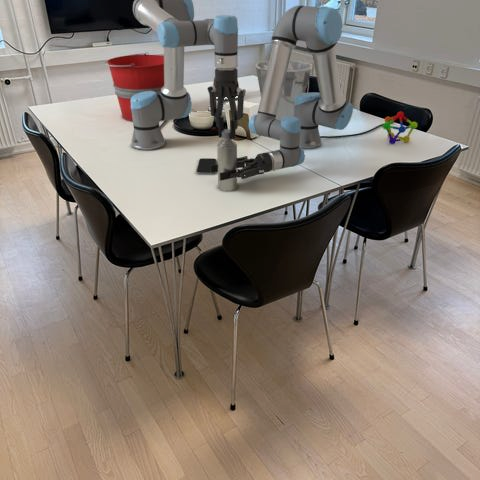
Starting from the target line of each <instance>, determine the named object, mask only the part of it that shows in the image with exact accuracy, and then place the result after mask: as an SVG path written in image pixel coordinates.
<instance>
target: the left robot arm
mask: <svg viewBox="0 0 480 480" xmlns="http://www.w3.org/2000/svg"><path fill="white" fill-rule="evenodd" d="M132 3H133V4H132V13H133V16H134V18H135V20H137V22H139V23H140V24H141V25H143V26H146V27H149V28H150V29H152V30H153V31H154V32H155V33H157V38H158V42H159V44H160V46H161V47H162V48H163V56H164V86H163V87H162V88H161V94H156V92H154V91H144V92H140V93H137V94H135V95H133V96H132V97H131V110H132V118H133V121H132V125H133V132H132V135H131V147H132V148H134V149H135V150H141V151H151V150H153V151H154V150H157V149H161V148H163V147H164V146H165V144H166V140H165V137H164V135H163V132H162V130H161V128H162V127H163V126H164V125H165V124H166V123H167V121H171V120H180V119H183V118H187V117H188V116H189V115H190V113H191V111H192V98H191V94H190V93H189V92H188V90H187V89H186V87H185V86H184V85H185V84H184V83H185V82H184V81H185V47H199V46H213V47H214V51H213V52H214V53H213V54H214V67H215V69H214V78H215V80H216V82H215V84H214V86H213V85H210V86H208V87H207V92H208V95H209V107H210V116H211V117H214V118H215V120H216V121H215V126H216V128H218V138H220V139H221V138H222V136H221V131H222V130H224V129H225V119H224V117H223V109H224V104H225V100H224V98H225V97H227V98H228V100H227V101H228V104H229V109H230V116H231V120H230V121H229V129H230V139H232V140H233V139H235V138H236V130H237V129H238V126H239V125H238V123H239V120H241V119H243V118H244V103H245V102H244V101H245V95H246V92H247V90H246V89H245V88H243V89H242V88H241V87H240V85H239V86H238V84H239V82H238V83H237V80H238V79H239V77H238V71H239V70H238V66H239V63H238V58H239V57H238V53H239V51H238V49H239V48H238V47H239V28H238V26H239V24H238V18H237V16H235V15H230V14H220V15H219V14H218V15H215V16H214V18H204V19H199V20H194V19H195V7H194V2H193V0H134V1H133V2H132ZM238 81H239V80H238ZM216 90H217V92H218V100H216V92H215V91H216ZM236 91H237V92H238V93H237V94H238V98H237V103H236V99H235V93H236ZM162 121H163V122H162ZM160 122H162V123H161V125H160Z"/></svg>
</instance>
